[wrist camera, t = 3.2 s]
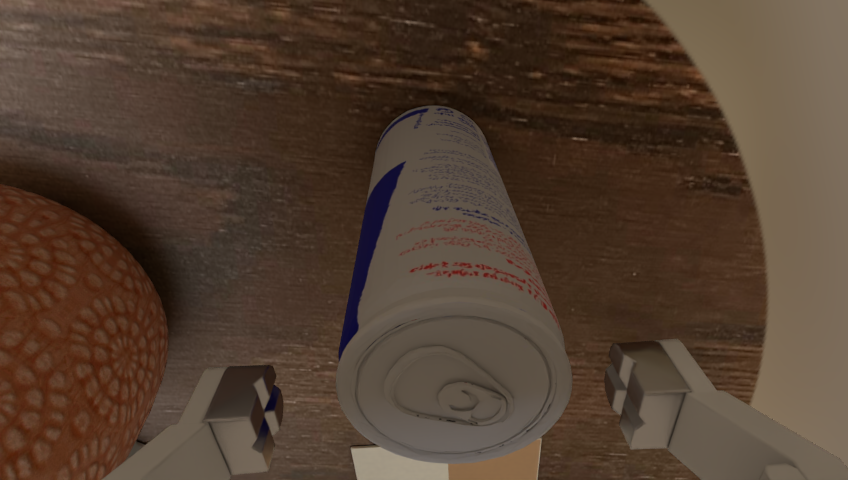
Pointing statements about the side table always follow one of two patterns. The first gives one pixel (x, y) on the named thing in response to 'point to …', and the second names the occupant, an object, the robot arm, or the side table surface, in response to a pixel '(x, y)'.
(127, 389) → the planter
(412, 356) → the beverage can
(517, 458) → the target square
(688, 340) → the side table surface
